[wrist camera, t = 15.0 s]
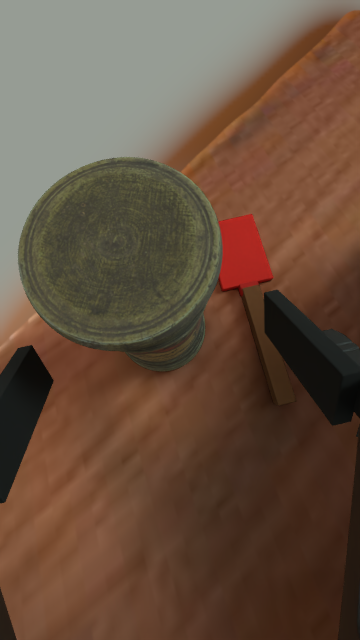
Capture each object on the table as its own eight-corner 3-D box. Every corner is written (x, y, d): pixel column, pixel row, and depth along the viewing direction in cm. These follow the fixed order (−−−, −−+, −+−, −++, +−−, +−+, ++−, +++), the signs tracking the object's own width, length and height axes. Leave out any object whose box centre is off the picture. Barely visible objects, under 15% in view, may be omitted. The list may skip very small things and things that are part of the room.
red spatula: (309, 395, 26) (316, 396, 24) (255, 409, 26) (258, 410, 24) (250, 217, 30) (253, 210, 29) (203, 228, 30) (204, 221, 29)
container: (113, 300, 29) (-7, 175, 11) (191, 280, 29) (196, 126, 11) (129, 381, 27) (15, 385, 9) (214, 359, 27) (262, 320, 9)
